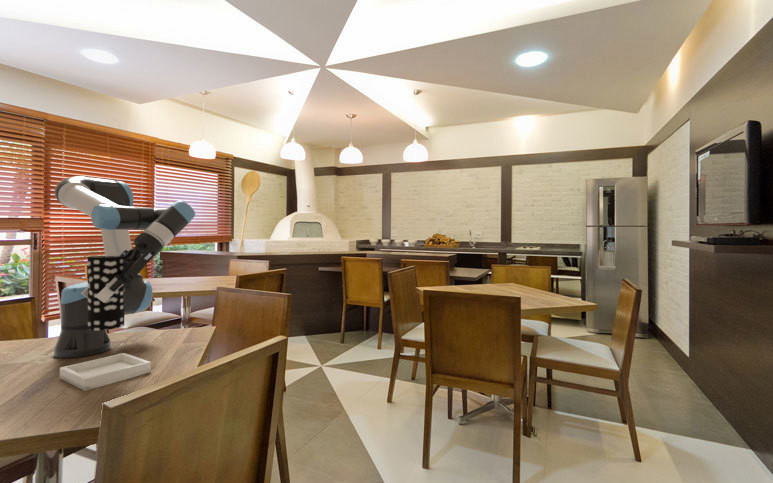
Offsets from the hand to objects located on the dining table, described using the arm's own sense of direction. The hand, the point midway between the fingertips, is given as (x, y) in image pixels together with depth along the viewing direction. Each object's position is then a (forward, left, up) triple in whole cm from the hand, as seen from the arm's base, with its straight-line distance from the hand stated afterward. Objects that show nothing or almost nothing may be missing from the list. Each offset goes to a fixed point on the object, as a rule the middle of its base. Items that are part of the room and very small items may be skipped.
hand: (92, 298), depth 104 cm
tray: (0, +3, -22) cm, 23 cm away
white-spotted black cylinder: (0, +3, -9) cm, 10 cm away
